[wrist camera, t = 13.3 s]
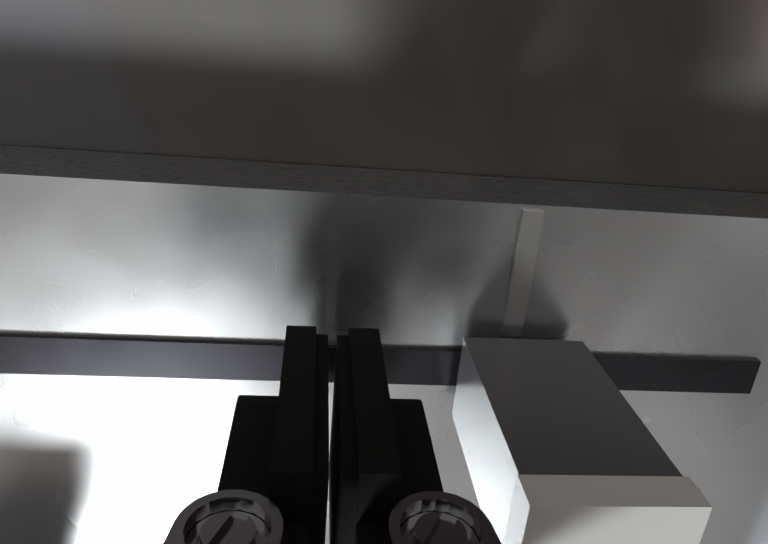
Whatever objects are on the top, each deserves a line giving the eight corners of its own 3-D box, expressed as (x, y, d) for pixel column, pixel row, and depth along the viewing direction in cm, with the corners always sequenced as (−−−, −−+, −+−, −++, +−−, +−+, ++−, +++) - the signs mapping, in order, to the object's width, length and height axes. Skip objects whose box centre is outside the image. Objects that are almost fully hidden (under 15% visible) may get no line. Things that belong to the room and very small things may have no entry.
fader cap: (585, 338, 13) (712, 507, 9) (567, 419, 14) (675, 609, 9) (461, 334, 13) (529, 506, 8) (449, 417, 13) (507, 612, 9)
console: (889, 201, 15) (1026, 251, 12) (716, 634, 20) (783, 742, 17) (-389, 120, 12) (-617, 161, 9) (-195, 648, 17) (-300, 780, 15)
